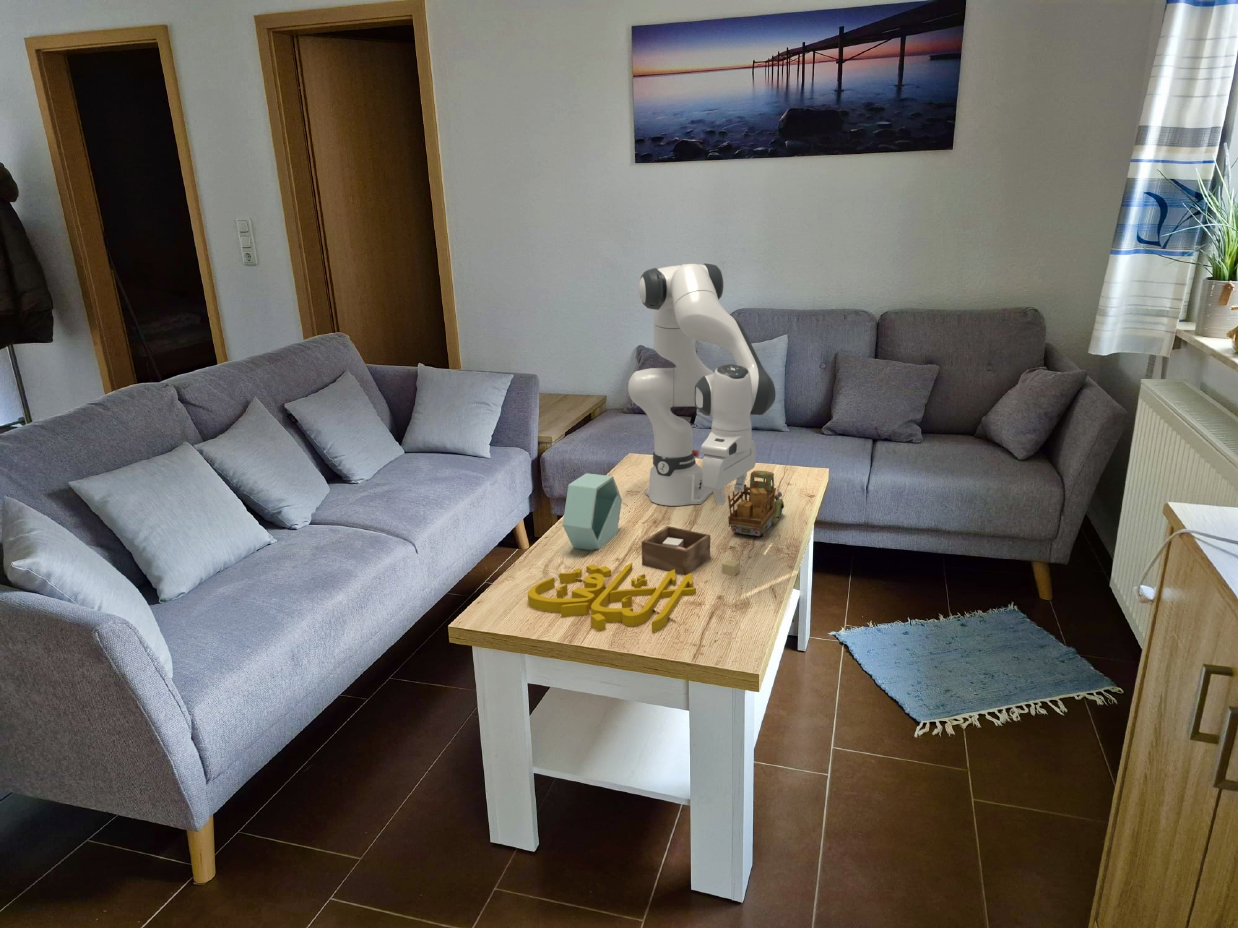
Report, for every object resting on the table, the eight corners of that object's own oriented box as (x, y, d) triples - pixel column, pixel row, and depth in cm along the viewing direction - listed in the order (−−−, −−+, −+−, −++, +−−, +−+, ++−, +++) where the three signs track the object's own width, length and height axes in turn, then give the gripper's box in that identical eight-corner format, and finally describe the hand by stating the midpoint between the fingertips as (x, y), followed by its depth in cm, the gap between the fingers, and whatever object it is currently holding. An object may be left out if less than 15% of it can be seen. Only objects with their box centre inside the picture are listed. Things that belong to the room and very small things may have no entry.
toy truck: (789, 515, 237) (791, 463, 232) (764, 547, 215) (766, 491, 211) (751, 510, 241) (753, 459, 237) (724, 541, 219) (725, 486, 215)
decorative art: (511, 603, 181) (575, 552, 207) (512, 615, 182) (575, 563, 208) (658, 632, 168) (707, 574, 194) (658, 645, 169) (707, 585, 195)
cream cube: (668, 552, 210) (668, 537, 209) (683, 554, 209) (683, 539, 207) (662, 558, 207) (662, 543, 205) (677, 560, 205) (677, 545, 204)
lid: (718, 563, 207) (718, 548, 206) (767, 574, 200) (768, 559, 199) (692, 582, 197) (692, 566, 196) (743, 595, 190) (744, 579, 189)
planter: (605, 564, 218) (584, 515, 203) (578, 559, 221) (555, 511, 206) (626, 512, 227) (608, 462, 212) (600, 508, 230) (580, 459, 215)
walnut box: (667, 551, 213) (667, 525, 211) (710, 561, 206) (710, 535, 204) (642, 568, 203) (641, 541, 201) (685, 579, 197) (686, 551, 195)
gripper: (738, 426, 199) (737, 482, 204) (697, 447, 183) (696, 508, 187) (763, 430, 196) (761, 486, 200) (723, 452, 180) (722, 513, 184)
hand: (729, 497), depth 194 cm, fingers open, 8 cm apart
